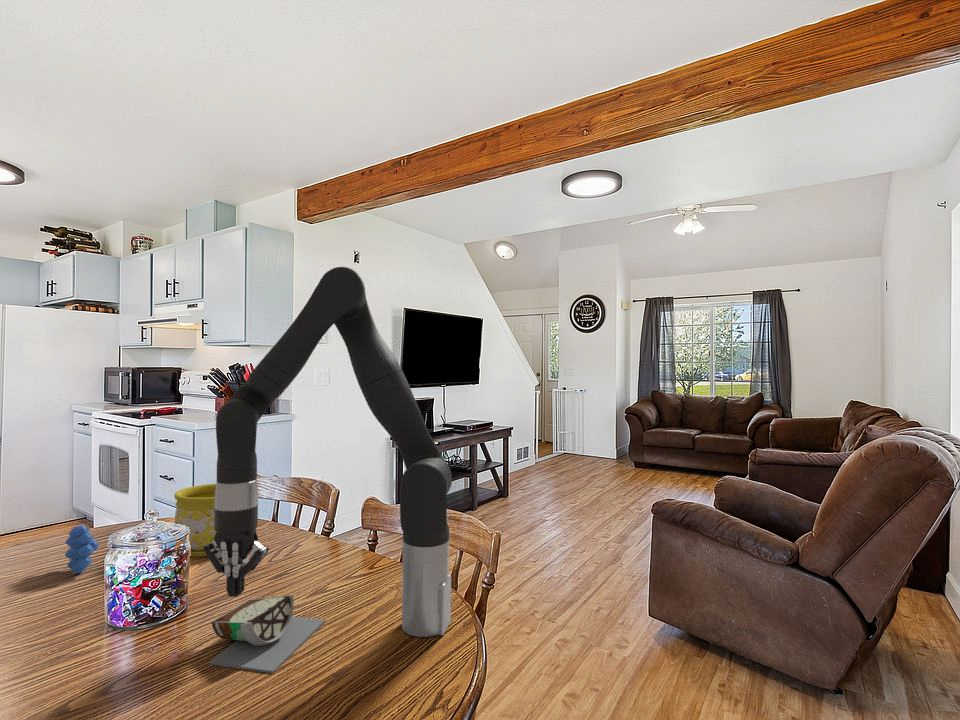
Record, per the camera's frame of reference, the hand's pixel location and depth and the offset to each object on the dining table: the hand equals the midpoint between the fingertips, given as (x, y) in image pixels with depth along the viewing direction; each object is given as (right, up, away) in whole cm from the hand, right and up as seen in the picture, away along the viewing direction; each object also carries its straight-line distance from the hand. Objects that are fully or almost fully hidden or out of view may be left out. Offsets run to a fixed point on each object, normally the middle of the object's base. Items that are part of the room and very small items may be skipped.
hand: (235, 594), depth 100 cm
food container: (-1, -6, 0) cm, 6 cm away
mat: (+8, -8, -2) cm, 11 cm away
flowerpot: (-28, -8, +47) cm, 55 cm away
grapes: (-51, -8, +30) cm, 60 cm away
